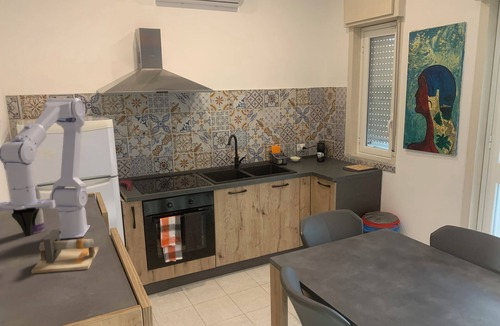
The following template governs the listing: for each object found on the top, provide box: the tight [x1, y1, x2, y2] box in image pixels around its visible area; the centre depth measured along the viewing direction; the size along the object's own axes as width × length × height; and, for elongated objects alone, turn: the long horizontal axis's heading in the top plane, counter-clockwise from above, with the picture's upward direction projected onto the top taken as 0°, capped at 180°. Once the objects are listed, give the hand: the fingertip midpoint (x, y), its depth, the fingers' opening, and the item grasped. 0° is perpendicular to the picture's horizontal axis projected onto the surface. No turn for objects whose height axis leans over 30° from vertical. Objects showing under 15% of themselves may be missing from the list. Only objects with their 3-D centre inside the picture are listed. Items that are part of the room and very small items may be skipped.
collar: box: [42, 229, 61, 263], centre depth 102 cm, size 7×2×7 cm, turn 9°
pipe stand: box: [31, 238, 100, 275], centre depth 102 cm, size 12×14×6 cm
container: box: [33, 185, 46, 234], centre depth 122 cm, size 5×5×15 cm
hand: (29, 234), depth 100 cm, fingers closed
